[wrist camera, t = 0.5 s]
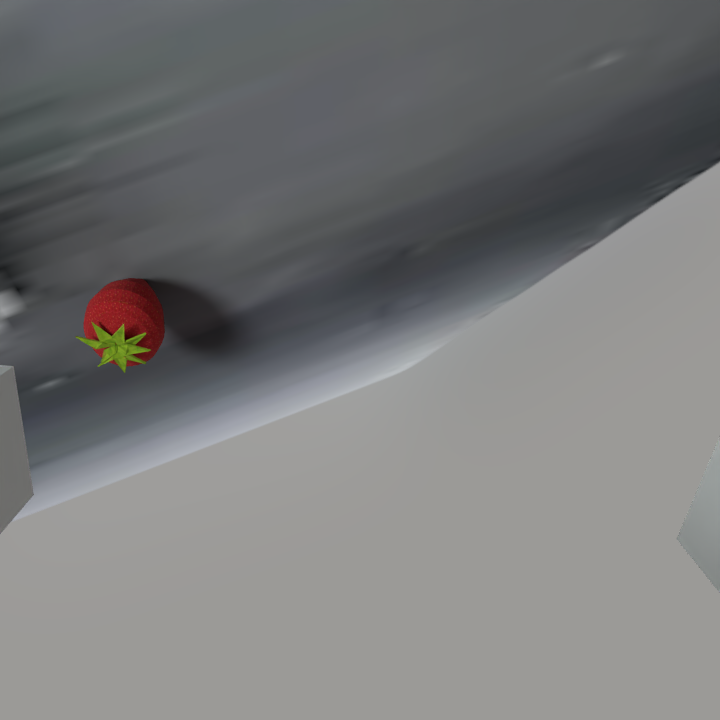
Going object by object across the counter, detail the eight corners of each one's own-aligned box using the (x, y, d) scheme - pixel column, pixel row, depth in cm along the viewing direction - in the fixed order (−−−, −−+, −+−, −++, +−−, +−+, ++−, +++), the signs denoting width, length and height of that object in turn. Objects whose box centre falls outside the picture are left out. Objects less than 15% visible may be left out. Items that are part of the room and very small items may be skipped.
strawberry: (106, 310, 49) (72, 396, 42) (100, 240, 43) (60, 327, 37) (175, 320, 50) (153, 405, 43) (177, 254, 45) (152, 339, 38)
